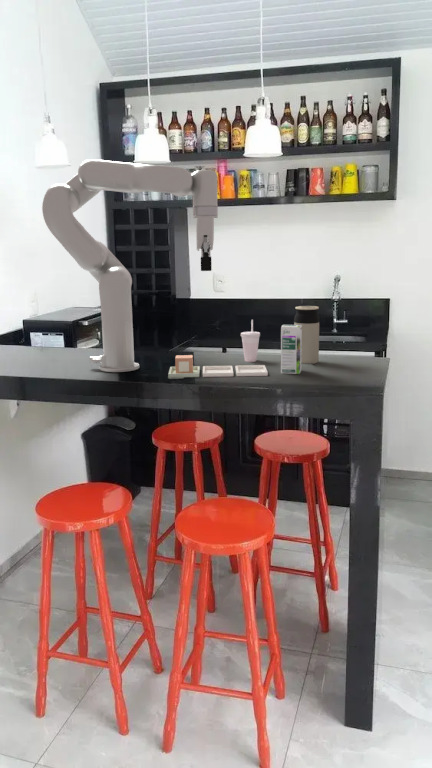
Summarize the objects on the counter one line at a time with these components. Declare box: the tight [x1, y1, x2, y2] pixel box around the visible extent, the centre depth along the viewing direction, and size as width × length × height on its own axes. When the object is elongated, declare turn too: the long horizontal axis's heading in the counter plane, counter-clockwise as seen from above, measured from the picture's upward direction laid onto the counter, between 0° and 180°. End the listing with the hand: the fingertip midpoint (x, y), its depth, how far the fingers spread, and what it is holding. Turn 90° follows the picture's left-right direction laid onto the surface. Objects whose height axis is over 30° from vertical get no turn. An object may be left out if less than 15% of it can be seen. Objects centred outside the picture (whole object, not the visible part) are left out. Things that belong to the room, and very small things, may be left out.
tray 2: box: [202, 365, 235, 378], centre depth 194 cm, size 9×11×2 cm
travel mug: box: [293, 305, 320, 365], centre depth 209 cm, size 8×8×18 cm
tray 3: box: [234, 364, 269, 377], centre depth 194 cm, size 9×11×2 cm
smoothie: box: [240, 319, 261, 363], centre depth 212 cm, size 6×6×14 cm
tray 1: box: [167, 365, 201, 380], centre depth 194 cm, size 9×11×2 cm
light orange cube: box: [174, 354, 194, 373], centre depth 194 cm, size 5×5×5 cm
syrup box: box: [280, 324, 302, 375], centre depth 193 cm, size 6×6×14 cm
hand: (206, 270), depth 201 cm, fingers open, 9 cm apart
